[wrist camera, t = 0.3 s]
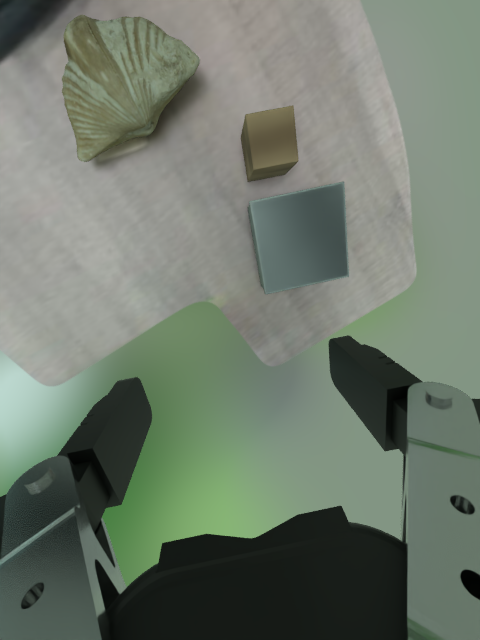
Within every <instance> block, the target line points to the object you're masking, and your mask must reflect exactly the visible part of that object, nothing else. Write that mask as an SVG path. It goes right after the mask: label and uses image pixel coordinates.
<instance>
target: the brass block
mask: <svg viewBox="0 0 480 640" xmlns="http://www.w3.org/2000/svg"><path fill="white" fill-rule="evenodd" d="M241 142H242V148H243V154H244V161H245V167H246V174H247V180H248V182H249V181H255V180H260V179H265V178H270V177H275V176H280V175H285V174H286V173H287V172H288V171H289V170H290V169H291V168H292V167H293V166H294V165H295V164H296V163H297V162H298V151H297V140H296V129H295V118H294V107H293V106H288V107H283V108H277V109H272V110H267V111H262V112H256V113H251V114H246V115H245V120H244V125H243V130H242V134H241Z"/></svg>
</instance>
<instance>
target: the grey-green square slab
mask: <svg viewBox="0 0 480 640" xmlns="http://www.w3.org/2000/svg"><path fill="white" fill-rule="evenodd" d="M249 204H250V205H249V207H248V213H249V219H250V225H251V231H252V236H253V242H254V248H255V254H256V259H257V265H258V271H259V277H260V283H261V287H262V288H263V289H264V292H265V294H270V293H274V292H279V291H284V290H288V289H293V288H298V287H302V286H307V285H312V284H316V283H321V282H326V281H330V280H335V279H340V278H344V277H349V266H348V247H347V227H346V207H345V188H344V182H339V183H335V184H330V185H325V186H321V187H316V188H311V189H306V190H302V191H297V192H292V193H288V194H283V195H278V196H273V197H269V198H264V199H259V200H254V201H250V202H249Z"/></svg>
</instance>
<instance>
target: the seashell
mask: <svg viewBox="0 0 480 640" xmlns="http://www.w3.org/2000/svg"><path fill="white" fill-rule="evenodd" d="M64 43H65V47H66V52H67V55H68V60H69V62H68V64H66V66H65V73H64V75H63V77H62V81H63V89H62V93H63V96H64V99H65V106H66V109H67V113H68V117H69V119H70V122H71V125H72V127H73V130H74V133H75V137H76V142H77V154H78V159H79V160H81V161H84V162H88V161H90V160H92V159H93V158H95V157H96V156H98V155H99V154H101V153H102V152H104V151H106V150H108V149H109V148H111V147H113V146H116V145H118V144H120V143H122V142H125V141H127V140H129V139H132V138H136V137H144V136H148V135H149V134H151V133H152V132H153V131H154V129H155V127H156V125H157V123H158V119H159V116H160V114H161V113H162V111H163V109H164V108H165V106H166V105H167V104H168V103H169V102H170V101H171V100H172V99H173V97H174V96H175V95H176V94H177V93H178V92H179V91H180V90H181V88H182V87H183V86H184V84H185V83H186V82H187V81H188V79H189V78H190V77H191V76H193V75H194V73H195V71H196V69H197V67H198V65H199V61H200V60H199V57H198V56H197V55H196V54H195V53H193V52H192V51H191V50H190V48H189V47H188V46H186V45H185V44H184V43H183V42H182V41H181V40H177V39H175V38H173V37H170V36H169V35H167V34H166V33H165V32H164V31H162V30H161V29H160V28H159V27H158V26H156V25H155V24H153V23H152V22H150V21H149V20H147V19H144V18H142V17H134V18H131V17H122V18H119V19H116V20H109V21H99V20H96V19H91V18H89V17H87V16H85V15H80V16H78V17H76V18H74V19H73V20H72V21H71V22H70V23H69V24H68V25H67V27H66V30H65V32H64Z"/></svg>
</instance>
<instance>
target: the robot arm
mask: <svg viewBox="0 0 480 640" xmlns="http://www.w3.org/2000/svg"><path fill="white" fill-rule="evenodd" d="M329 359H330V373H331V378H332V380H333V383H334V385H335V387H336V388H337V389H338V391H339V392H340V393H341V395H342V396H343V397H344V398H345V400H346V401H347V402H348V404H349V405H350V406H351V408H352V409H353V410H354V411H355V412H356V414H357V415H358V417H359V418H360V419H361V421H362V422H363V423H364V424H365V426H366V427H367V429H368V430H369V431H370V432H371V434H372V435H373V436H374V438H375V439H376V440H377V442H378V443H379V444H380V445H381V447H382V448H383V449H384V451H389V450H394V449H400V451H401V452H402V453H403V478H402V514H401V537H400V540H399V539H397V538H396V537H394V536H392V535H390V534H388V533H385V532H383V531H381V530H378V529H376V528H373V527H370V526H367V525H362V524H358V523H351V522H348V520H347V517H346V515H345V513H344V511H343V508H342V506H337V507H333V508H328V509H323V510H318V511H313V512H309V513H304V514H299V515H296V516H295V517H293V518H291V519H289V520H288V521H286V522H284V523H282V524H280V525H278V526H277V527H275V528H273V529H271V530H269V531H268V532H266V533H264V534H262V535H260V536H258V537H256V538H252V539H251V538H240V537H231V536H220V535H211V534H204V535H200V536H194V537H190V538H185V539H180V540H176V541H171V542H166V543H162V547H161V552H160V558H159V563H158V564H156V565H154V566H153V567H151V568H150V569H148V570H147V571H145V572H144V573H142V574H141V575H140V576H139V577H138V578H136V579H135V580H134V581H133V582H132V583H131V584H130V585H129V586H128V587H126V585H125V583H124V580H123V578H122V575H121V572H120V569H119V565H118V563H117V559H116V556H115V553H114V550H113V547H112V544H111V541H110V538H109V535H108V531H107V528H106V526H105V523H104V521H103V519H102V515H103V513H104V511H105V508H108V507H113V506H118V505H121V504H122V502H123V499H124V496H125V493H126V491H127V488H128V485H129V482H130V480H131V477H132V474H133V471H134V468H135V466H136V463H137V460H138V458H139V455H140V452H141V449H142V447H143V444H144V441H145V438H146V435H147V433H148V430H149V427H150V425H151V421H152V412H151V407H150V404H149V402H148V399H147V396H146V394H145V391H144V388H143V386H142V383H141V381H140V379H139V378H137V377H135V378H130V379H125V380H120V381H117V382H116V384H115V385H114V386H113V388H112V389H111V391H110V392H109V393H108V395H106V396H105V397H103V398H102V399H101V400H100V401H99V402H97V403H96V404H95V405H94V406H93V407H92V409H91V410H90V412H89V413H88V414H87V417H85V418H84V420H83V421H82V422H81V426H79V427H78V428H77V429H76V431H75V432H74V433H73V435H72V436H71V437H70V439H69V440H68V441H67V443H66V444H65V446H64V447H63V448H62V450H61V451H60V452H59V454H58V455H57V456H55V457H51V458H48V459H46V460H44V461H42V462H40V463H38V464H37V465H35V466H33V467H32V468H31V469H29V470H28V471H26V472H25V473H24V474H23V475H22V476H20V477H19V478H18V479H17V480H16V482H15V483H14V484H13V485H12V486H11V488H10V489H9V491H8V493H7V494H6V495H4V496H2V497H0V640H480V399H471V398H470V397H469V396H468V395H466V394H465V393H464V392H462V391H461V390H459V389H457V388H454V387H452V386H449V385H446V384H442V383H436V382H422V381H421V380H419V379H418V378H417V377H415V376H414V375H413V374H411V373H410V372H409V371H407V370H406V369H404V368H403V367H402V366H400V365H399V364H397V363H395V361H393V360H392V359H391V358H389V357H387V356H386V355H385V354H384V353H382V352H381V351H379V350H378V349H376V348H373V347H370V346H368V345H365V344H364V345H361V344H359V343H358V342H357V341H356V340H354V339H353V338H352V337H350V336H343V337H338V338H333V339H330V341H329Z"/></svg>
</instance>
